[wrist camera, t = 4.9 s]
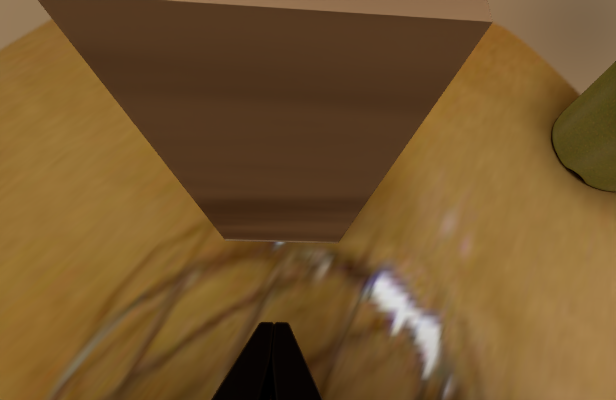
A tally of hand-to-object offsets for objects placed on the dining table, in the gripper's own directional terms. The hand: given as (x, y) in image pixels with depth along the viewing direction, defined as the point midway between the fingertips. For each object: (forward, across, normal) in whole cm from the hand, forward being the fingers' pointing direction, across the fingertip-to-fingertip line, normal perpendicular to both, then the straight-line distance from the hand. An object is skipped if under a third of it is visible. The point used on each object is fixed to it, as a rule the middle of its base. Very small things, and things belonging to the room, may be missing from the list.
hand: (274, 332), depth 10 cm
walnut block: (+10, 0, 0) cm, 10 cm away
